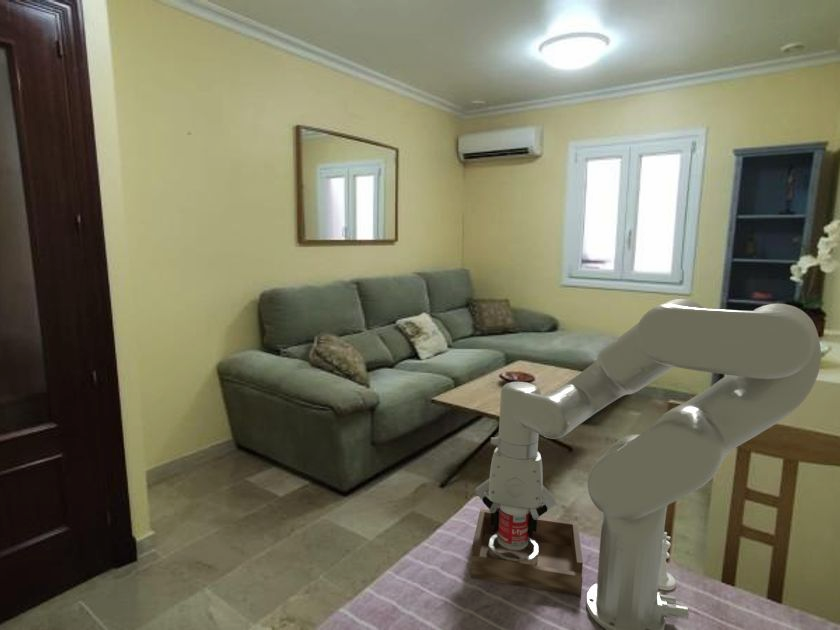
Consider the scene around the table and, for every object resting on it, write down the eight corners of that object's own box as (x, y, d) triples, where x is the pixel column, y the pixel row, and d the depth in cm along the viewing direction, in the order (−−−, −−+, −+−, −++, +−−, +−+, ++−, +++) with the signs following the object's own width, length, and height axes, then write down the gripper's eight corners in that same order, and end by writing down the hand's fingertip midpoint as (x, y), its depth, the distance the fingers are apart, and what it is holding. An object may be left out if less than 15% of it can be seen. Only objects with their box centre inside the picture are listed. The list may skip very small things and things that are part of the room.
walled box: (575, 548, 101) (577, 522, 100) (581, 596, 88) (583, 566, 87) (479, 534, 106) (480, 508, 105) (470, 577, 92) (471, 548, 91)
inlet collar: (537, 543, 101) (538, 534, 101) (537, 574, 92) (538, 564, 91) (491, 536, 103) (491, 528, 103) (486, 565, 94) (487, 556, 94)
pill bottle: (511, 555, 93) (514, 502, 91) (490, 538, 98) (492, 488, 96) (534, 544, 96) (538, 493, 95) (512, 529, 102) (515, 480, 100)
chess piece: (674, 594, 88) (680, 544, 87) (645, 584, 91) (649, 535, 89) (676, 578, 93) (681, 530, 91) (647, 569, 95) (652, 522, 93)
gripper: (470, 449, 92) (467, 535, 95) (565, 460, 88) (558, 550, 91) (475, 433, 99) (472, 514, 102) (563, 443, 95) (557, 527, 98)
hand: (513, 530), depth 97 cm, fingers closed on pill bottle, 6 cm apart
